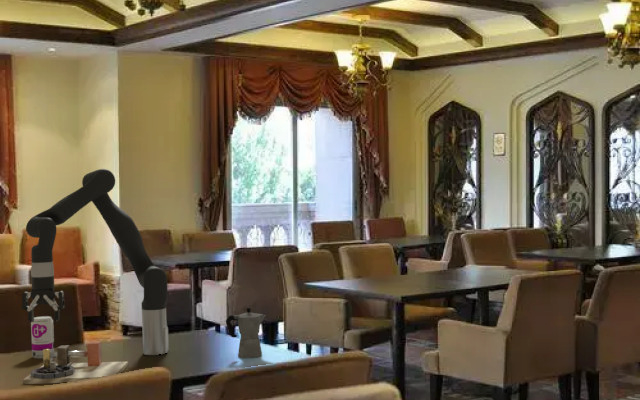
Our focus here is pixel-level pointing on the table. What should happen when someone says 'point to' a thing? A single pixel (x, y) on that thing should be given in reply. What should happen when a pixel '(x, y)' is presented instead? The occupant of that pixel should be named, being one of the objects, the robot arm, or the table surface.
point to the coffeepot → (247, 333)
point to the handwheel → (45, 371)
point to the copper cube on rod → (85, 354)
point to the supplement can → (42, 335)
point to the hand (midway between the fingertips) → (44, 321)
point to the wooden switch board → (78, 369)
